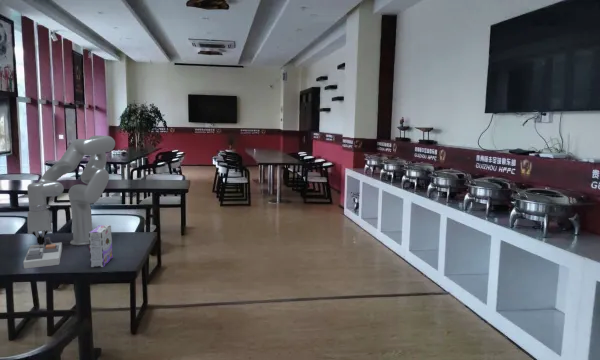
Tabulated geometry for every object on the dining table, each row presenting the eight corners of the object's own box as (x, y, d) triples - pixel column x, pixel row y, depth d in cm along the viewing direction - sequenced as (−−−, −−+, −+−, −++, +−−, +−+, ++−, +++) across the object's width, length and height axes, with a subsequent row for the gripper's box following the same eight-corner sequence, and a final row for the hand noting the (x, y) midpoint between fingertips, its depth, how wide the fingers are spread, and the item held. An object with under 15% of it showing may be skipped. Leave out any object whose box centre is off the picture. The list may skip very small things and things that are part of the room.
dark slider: (51, 244, 232) (51, 236, 231) (51, 246, 227) (50, 238, 227) (45, 244, 231) (44, 237, 230) (44, 247, 226) (43, 239, 226)
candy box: (100, 258, 220) (98, 224, 218) (113, 258, 220) (111, 224, 218) (90, 267, 206) (88, 231, 204) (103, 267, 207) (101, 231, 205)
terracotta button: (55, 248, 224) (55, 243, 224) (55, 250, 221) (55, 246, 220) (46, 249, 223) (46, 244, 222) (45, 251, 219) (45, 247, 219)
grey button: (40, 252, 214) (39, 247, 213) (39, 254, 210) (38, 249, 210) (30, 253, 212) (29, 248, 212) (29, 256, 208) (28, 250, 208)
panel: (62, 248, 237) (61, 239, 237) (59, 264, 210) (58, 254, 210) (31, 251, 231) (30, 242, 231) (23, 268, 205) (23, 258, 204)
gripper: (55, 205, 232) (58, 240, 234) (21, 208, 226) (24, 244, 228) (54, 208, 225) (57, 244, 228) (19, 211, 219) (22, 248, 221)
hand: (41, 244), depth 228 cm, fingers closed
